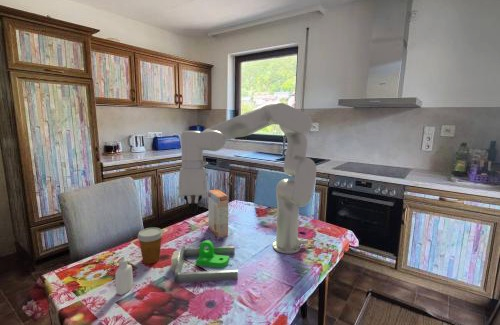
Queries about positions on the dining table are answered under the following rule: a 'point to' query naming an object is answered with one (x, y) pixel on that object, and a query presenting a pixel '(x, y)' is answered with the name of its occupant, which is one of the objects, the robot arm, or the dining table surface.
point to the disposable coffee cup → (150, 244)
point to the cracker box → (218, 213)
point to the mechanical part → (210, 256)
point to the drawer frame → (201, 276)
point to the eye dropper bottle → (123, 277)
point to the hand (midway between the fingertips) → (193, 212)
